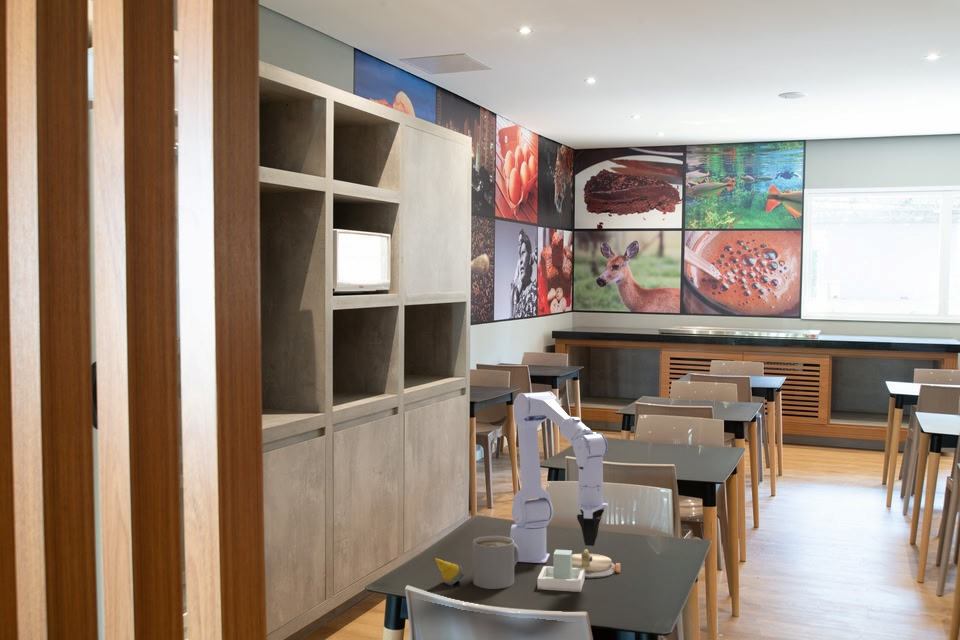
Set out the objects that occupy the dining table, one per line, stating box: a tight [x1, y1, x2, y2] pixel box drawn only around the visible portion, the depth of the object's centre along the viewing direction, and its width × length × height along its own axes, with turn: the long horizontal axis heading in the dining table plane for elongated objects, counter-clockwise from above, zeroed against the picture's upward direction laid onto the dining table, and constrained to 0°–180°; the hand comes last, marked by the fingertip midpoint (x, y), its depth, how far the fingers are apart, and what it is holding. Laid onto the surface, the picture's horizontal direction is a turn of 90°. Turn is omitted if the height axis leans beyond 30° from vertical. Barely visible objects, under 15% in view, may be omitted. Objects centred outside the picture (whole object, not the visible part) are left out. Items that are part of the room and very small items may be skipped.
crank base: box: [585, 562, 621, 579], centre depth 220 cm, size 15×14×2 cm
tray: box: [537, 565, 586, 593], centre depth 209 cm, size 10×10×2 cm
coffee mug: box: [472, 535, 519, 590], centre depth 211 cm, size 13×10×10 cm
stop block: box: [552, 549, 573, 579], centre depth 209 cm, size 4×4×7 cm
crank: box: [572, 548, 613, 572], centre depth 220 cm, size 13×12×5 cm
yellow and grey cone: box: [434, 557, 465, 586], centre depth 209 cm, size 5×5×10 cm
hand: (590, 541), depth 208 cm, fingers open, 5 cm apart
